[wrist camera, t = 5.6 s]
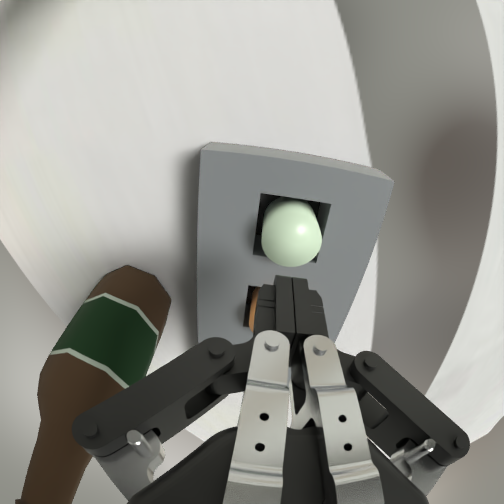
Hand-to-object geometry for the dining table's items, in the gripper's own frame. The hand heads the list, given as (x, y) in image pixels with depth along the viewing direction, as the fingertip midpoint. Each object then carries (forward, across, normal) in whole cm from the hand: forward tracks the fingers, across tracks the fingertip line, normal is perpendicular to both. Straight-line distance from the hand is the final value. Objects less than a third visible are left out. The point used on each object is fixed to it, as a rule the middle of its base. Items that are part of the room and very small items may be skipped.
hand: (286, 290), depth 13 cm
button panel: (+8, 0, +6) cm, 11 cm away
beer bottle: (+9, +12, +10) cm, 18 cm away
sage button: (+7, 0, 0) cm, 7 cm away
